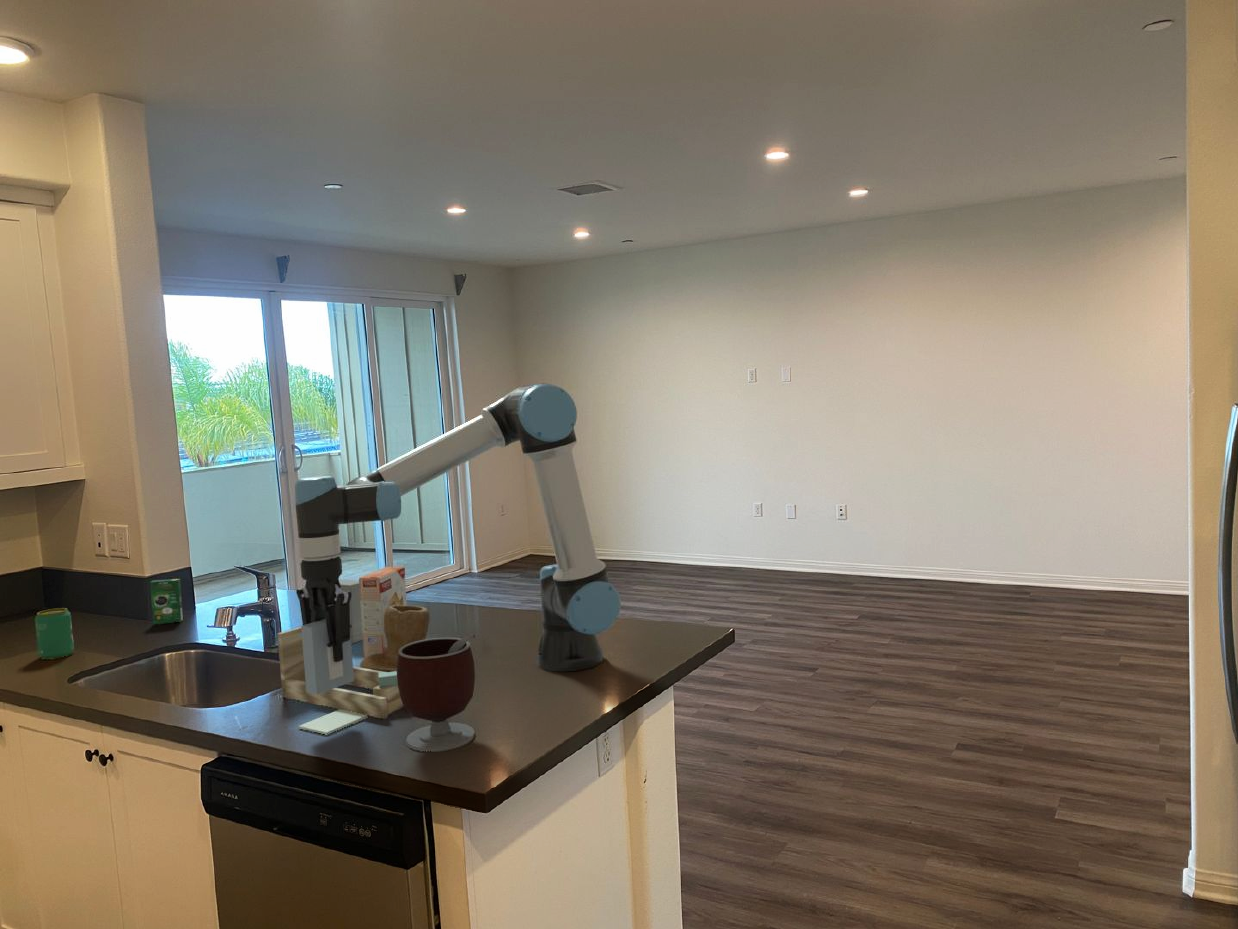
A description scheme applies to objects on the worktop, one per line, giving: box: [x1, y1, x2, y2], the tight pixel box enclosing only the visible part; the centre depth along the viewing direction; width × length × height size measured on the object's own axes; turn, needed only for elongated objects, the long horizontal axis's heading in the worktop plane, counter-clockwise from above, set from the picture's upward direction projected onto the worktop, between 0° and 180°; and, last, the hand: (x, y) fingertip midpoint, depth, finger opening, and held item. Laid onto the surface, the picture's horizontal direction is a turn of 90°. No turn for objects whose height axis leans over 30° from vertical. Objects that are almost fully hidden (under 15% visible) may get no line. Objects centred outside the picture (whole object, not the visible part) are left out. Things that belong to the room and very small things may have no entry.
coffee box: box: [149, 578, 184, 626], centre depth 269 cm, size 8×3×13 cm, turn 103°
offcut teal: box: [378, 671, 398, 687], centre depth 184 cm, size 3×5×2 cm, turn 106°
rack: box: [276, 626, 389, 719], centre depth 190 cm, size 31×13×14 cm, turn 58°
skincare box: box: [328, 578, 363, 645], centre depth 238 cm, size 8×7×16 cm
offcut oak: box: [387, 697, 404, 714], centre depth 185 cm, size 5×9×2 cm, turn 153°
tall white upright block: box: [300, 619, 354, 695], centre depth 175 cm, size 3×9×13 cm, turn 147°
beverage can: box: [34, 607, 75, 659], centre depth 238 cm, size 8×8×12 cm
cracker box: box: [358, 566, 408, 660], centre depth 221 cm, size 14×6×21 cm, turn 168°
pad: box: [298, 709, 369, 736], centre depth 176 cm, size 8×10×1 cm
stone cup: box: [359, 604, 431, 672], centre depth 209 cm, size 15×12×15 cm
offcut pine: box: [372, 685, 400, 703], centre depth 184 cm, size 4×7×2 cm, turn 152°
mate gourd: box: [397, 633, 476, 753], centre depth 164 cm, size 16×14×20 cm
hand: (330, 676), depth 175 cm, fingers closed on tall white upright block, 3 cm apart
